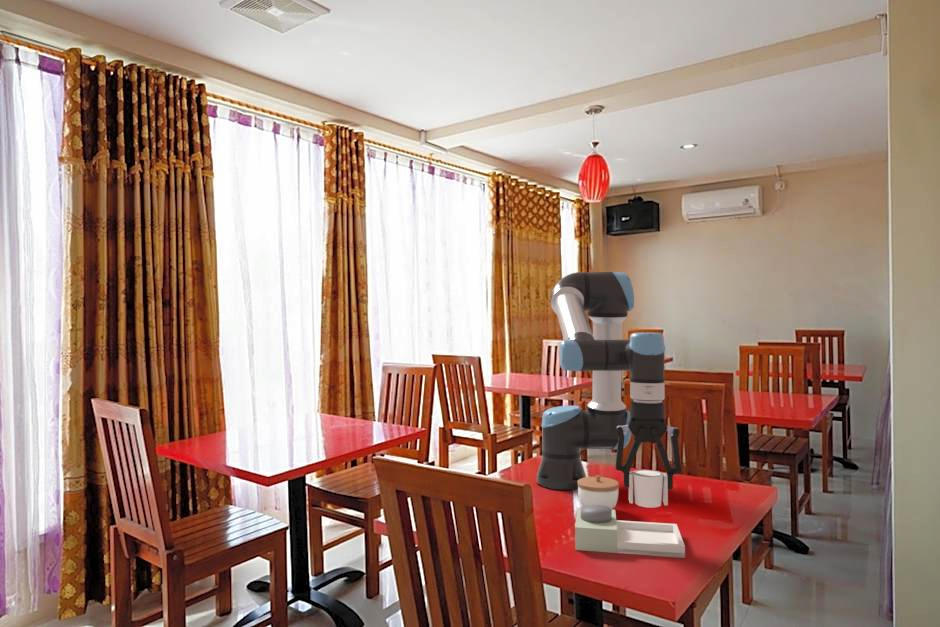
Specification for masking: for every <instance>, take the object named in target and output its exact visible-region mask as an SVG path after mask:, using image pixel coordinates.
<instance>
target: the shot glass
mask: <svg viewBox="0 0 940 627" xmlns="http://www.w3.org/2000/svg"><path fill="white" fill-rule="evenodd" d="M631 472H632V473H633V497H634V503H635V505H637V506H638V507H641V508H642V507H643V508H647V509H648V508H652V509H653V508H659V507H661V506H662V502H663V478H664V474H663V473H664V472H661V471H659V470H652V469H636V470H633V471H631Z"/></svg>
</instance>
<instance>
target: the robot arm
mask: <svg viewBox="0 0 940 627" xmlns="http://www.w3.org/2000/svg"><path fill="white" fill-rule="evenodd" d="M549 300H550V301H549V302H550V306H551V309H552V311H553V312H554V313H555V314H556V316H557V320H558V322H559V327H560V330H561V334H562V339H563V340H561V341H560V342H559V348H558V350H559V351H558V358H559V366H560V368H561V370H563V371H568V372H569V371H571V372H572V371H573V372H591V371H592V388H591V389H592V396H591V398H592V399H591V400H590V401H589V402H588V403H587V407H586V410H582V409H581V407H580V406H579V405H559V406H555V407H551V408H548V409H546V410H545V411H543V413H542V416H541V418H542V420H541V430H542V431H541V433H542V434H541V435H542V436H541V437H542V438H541V439H542V440H541V443H542V444H541V445H542V446H541V447H542V448H541V454H542V456H541V461H540V464H539V467H538V470H537V473H536V483H537V482H538V483H539V484H540V485H542V486H541V487H543V486H545V487H544V488H546V487H547V489H552V490H565V491H566V490H567V491H568V490H569V491H570V490H578V484H577V481H578V480H579V479H581V478H585V477H587V474H586V472H585V468H584V466H583V463H582V458H581V450H609V451H610V450H611V451H612V450H616V457H615V469H616V471H620V472H622V473H623V486H624V488H628V501H629V504H634V486H633V473H632V472H633V471H631V469H632V466H633V462H634V460H635V459H636V455H637V452H638V450H639V448H640V445H641V443H647V442H648V443H651V444H654V443H655V445H656V448H657V450H658V453H659V455H660V458H661V461H662V463H663V466H664V469H665V471H666V472H662V473H663V474H664V478H663V489H662V502H663V505H664V506H669V498H668V497H669V495H668V494H669V493H668V492H669V490H671V491H672V490H673V488H674V484H673V483H674V482H673V481H674V475H676V474H681V472H682V462H681V457H680V448H679V441H678V439H679V435H680V429H679V428H678V427H677V426H674V427H673V426H669V425H667V423H666V403H664V401H663V400H665V399H666V398H665V396H666V395H665V394H666V393H665V391H666V390H665V351H666V346H665V337H664V334H662V333H661V332H632V333H631V334H630V335H629V338H628V339H623V322H624V321H625V320H626V319H627V318H628V312H631V311H632V310H633V309H634V306H635V305H634V304H635V294H634V287H633V283H632V281H631V278H630V277H629V274H627V273H626V272H621V271H618V272H617V271H594V272H593V271H585V272H583V271H580V272H579V271H577V272H576V271H575V272H573V273H570V274H567V275H565V276H563V277H562V278H561V279H559V280H558V282H556V284H555V285H554V286H553V288H552V290H551V293H550V296H549ZM586 312H587V314H586ZM587 316H588V317H587ZM588 318H589V319H590V320H591V321H592V328H591V325H590V322H589V320H588ZM622 371H623V372H627V371H628V372H629V377H630V378H629V393H630V394H629V397H630V399H631V401H630V402H629V403H630V405H629V406H630V410H627V405H626V404H625V403H624V402H623V401H622ZM666 432H667V433H668V434H667V435H668V436H669V437H670V442H671V443H670V444H671V451H672V460H673V465H674V466H671V464H670V462H669V459H668V456H667V454H666V450H665V448H664V445H663V442H662V440H661V438H662V437H663V436H664V435H665V433H666ZM632 435H633V437H634V438H633V441H632V444H631V447H630V450H629V452H628V454H627V458H626V460H625V463H624V464H622V463H623V456H624V449H625V448H626V447H627V446H628V444H629V443H630V440H631V437H632ZM540 485H539V486H540Z"/></svg>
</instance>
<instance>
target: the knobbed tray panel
mask: <svg viewBox="0 0 940 627" xmlns="http://www.w3.org/2000/svg"><path fill="white" fill-rule="evenodd" d="M616 513H617V512H616V509H612V510H611V509H610V508H609V507H606V506H602V505H585V506H581V507H576V514H575V524H574V532H575V533H574V536H575V537H574V541H575V542H574V546H575V548H574V550H575V551H583V552H585V551H587V552H598V553H614V554H625V555H627V554H628V555H639V556H653V557H665V558H680V559H685V558H686V545H685V542H684V540H683V537H682V535H681V532H680V529H679V527H678V524H677V523H666V522H665V523H664V522H652V521H651V522H650V521H649V522H648V521H633V520H632V521H631V520H618V519H617V515H616Z"/></svg>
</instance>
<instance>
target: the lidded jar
mask: <svg viewBox="0 0 940 627" xmlns="http://www.w3.org/2000/svg"><path fill="white" fill-rule="evenodd" d="M577 484H578V489H577V494H578V498H579V503H580V504H581V505H582V506H585V505H602V506H606V507H609V508H610V509H611V510H614V508H615V507H616V505H617V503H618V500H619V488H620V483H619V481H617V480H616V479H613V478H609V477H604V476H601V475H600V474H597V475H595V476H586V477H585V478H581V479H579V480H578V481H577ZM582 506H581V507H582Z"/></svg>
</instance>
